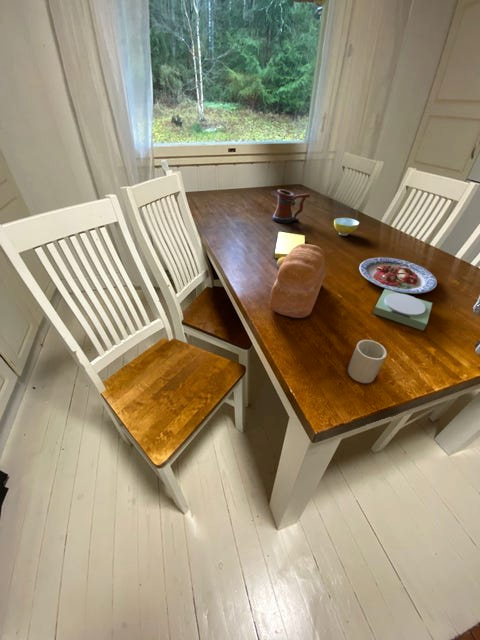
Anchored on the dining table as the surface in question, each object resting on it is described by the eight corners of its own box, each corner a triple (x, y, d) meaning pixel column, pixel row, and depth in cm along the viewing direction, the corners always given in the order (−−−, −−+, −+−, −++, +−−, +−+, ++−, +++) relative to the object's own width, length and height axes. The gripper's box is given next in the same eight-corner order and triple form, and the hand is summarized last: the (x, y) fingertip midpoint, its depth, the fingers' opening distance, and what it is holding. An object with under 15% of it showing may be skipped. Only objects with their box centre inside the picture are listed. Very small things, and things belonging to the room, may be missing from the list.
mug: (306, 218, 152) (310, 189, 143) (304, 225, 143) (309, 195, 134) (274, 215, 156) (276, 186, 146) (271, 222, 147) (273, 192, 137)
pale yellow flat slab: (304, 260, 111) (303, 238, 130) (304, 255, 110) (304, 233, 128) (274, 257, 113) (278, 236, 131) (274, 253, 112) (278, 231, 130)
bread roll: (275, 262, 110) (275, 253, 107) (296, 262, 110) (298, 252, 108) (278, 272, 103) (279, 263, 101) (302, 272, 104) (303, 262, 101)
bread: (265, 312, 84) (269, 267, 74) (288, 273, 103) (293, 234, 93) (308, 323, 80) (318, 278, 70) (324, 281, 98) (334, 241, 89)
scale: (428, 309, 86) (433, 301, 84) (423, 330, 78) (428, 322, 76) (382, 295, 92) (385, 287, 90) (372, 313, 84) (375, 305, 82)
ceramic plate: (358, 258, 113) (360, 251, 112) (427, 269, 107) (431, 262, 105) (357, 289, 94) (359, 282, 93) (440, 304, 88) (445, 297, 86)
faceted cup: (377, 370, 66) (389, 346, 61) (371, 387, 62) (382, 363, 57) (352, 359, 69) (361, 336, 64) (344, 375, 65) (353, 351, 60)
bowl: (329, 229, 139) (331, 217, 135) (351, 230, 139) (355, 217, 135) (334, 238, 130) (337, 225, 126) (358, 238, 130) (362, 225, 126)
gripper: (601, 317, 27) (511, 389, 37) (556, 226, 39) (498, 299, 49) (521, 299, 29) (456, 372, 39) (502, 219, 42) (456, 290, 51)
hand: (479, 331), depth 44 cm, fingers open, 8 cm apart
